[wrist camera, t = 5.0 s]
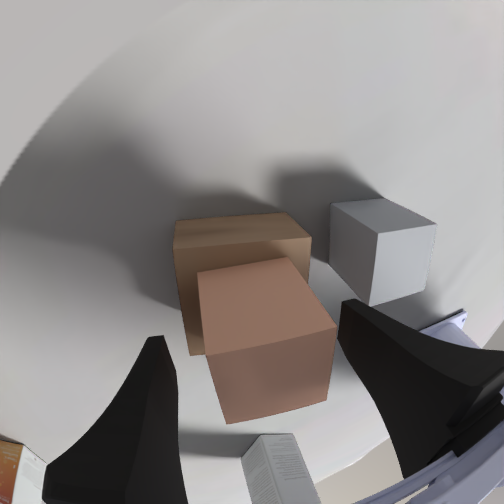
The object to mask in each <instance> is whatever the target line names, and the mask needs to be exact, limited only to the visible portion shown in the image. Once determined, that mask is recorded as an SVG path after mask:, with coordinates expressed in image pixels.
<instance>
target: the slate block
mask: <svg viewBox="0 0 504 504" xmlns="http://www.w3.org/2000/svg"><path fill="white" fill-rule="evenodd" d="M436 228H437V224H436V223H434V222H432V221H430V220H429V219H427V218H425V217H423V216H421V215H419V214H417V213H415V212H413V211H411V210H409V209H407V208H405V207H403V206H400V205H398V204H396V203H394V202H392V201H390V200H388V199H386V198H379V199H368V200H358V201H348V202H338V203H330V242H329V265H330V266H331V267H332V268H333V269H334V270H335V272H336V273H337V274H338V275H339V276H340V277H341V278H342V279H343V280H344V281H345V282H346V283H347V284H348V286H349V287H350V288H351V289H352V290H353V291H354V292H355V293H356V294H357V295H358V296H359V298H360V299H361V300H362V301H363V302H364V303H365V304H366V305H368V306H370V307H371V306H375V305H378V304H382V303H385V302H388V301H392V300H395V299H398V298H401V297H405V296H408V295H411V294H414V293H417V292H420V291H423V290H424V289H425V285H426V280H427V276H428V271H429V267H430V262H431V257H432V252H433V246H434V241H435V235H436Z"/></svg>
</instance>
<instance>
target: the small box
mask: <svg viewBox="0 0 504 504" xmlns="http://www.w3.org/2000/svg"><path fill="white" fill-rule="evenodd" d="M46 466H47V463H45V462H44V461H43V460H41V459H40V458H39V457H38V456H36V455H35V454H34V453H33V452H31V451H30V450H29V449H28V448H27V447H26V446H24V445H20V444H14V443H10V442H5V441H2V440H0V504H41V502H42V488H43V481H44V474H45V470H46Z"/></svg>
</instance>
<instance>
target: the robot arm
mask: <svg viewBox="0 0 504 504" xmlns="http://www.w3.org/2000/svg"><path fill="white" fill-rule="evenodd" d="M466 317H467V312H466V311H463V312H461V313H459V314H457V315H455V316H453V317H450V318H448V319H446V320H444V321H442V322H439V323H437V324H435V325H432V326H430V327H428V328H425V329H423V330H420V331H416V330H414V329H412V328H410V327H408V326H406V325H404V324H402V323H400V322H398V321H396V320H394V319H392V318H390V317H388V316H386V315H385V314H383V313H381V312H379V311H377V310H375V309H374V308H372V307H370V306H368V305H366V304H365V303H363V302H361V301H359V300H357V299H351V300H347V301H343V302H342V305H341V314H340V322H339V330H338V337H337V339H338V341H339V343H340V346H341V348H342V350H343V352H344V354H345V356H346V358H347V360H348V361H349V363H350V364H351V366H352V367H353V369H354V371H355V372H356V374H357V375H358V377H359V378H360V380H361V381H362V383H363V384H364V386H365V387H366V389H367V390H368V392H369V393H370V395H371V397H372V398H373V400H374V402H375V404H376V406H377V408H378V410H379V412H380V414H381V416H382V419H383V421H384V423H385V426H386V428H387V430H388V433H389V435H390V438H391V440H392V443H393V446H394V449H395V451H396V454H397V458H398V461H399V464H400V467H401V471H402V475H403V478H404V480H402V481H400V482H399V483H397V484H395V485H393V486H391V487H389V488H387V489H385V490H383V491H381V492H379V493H376V494H374V495H372V496H369V497H367V498H365V499H363V500H360V501H358V502H355V503H353V504H394V503H396V502H398V501H400V500H402V499H404V498H406V497H407V496H409V495H411V494H413V493H414V492H416V491H418V490H420V489H421V488H423V487H425V486H426V485H428V484H429V486H428V488H427V489H426V490H424V491H422V492H421V493H419V494H418V495H416V496H415V497H413V498H411V499H410V500H409V501H408V502H407V503H405V504H479V503H480V502H481V501H482V500H483V499H484V498H485V497H486V496H487V495H489V493H490V492H491V491H492V490H493V489H494V488H496V487H502V486H504V351H497V350H485V349H481V348H480V347H479V346H478V345H477V344H476V343H475V342H474V341H472V340H471V339H470V338H469V337H468V336H467V335H466V334H465V333H464V332H463V331H462V327H463V325H464V322H465V320H466ZM42 500H43V501H44V502H45V503H46V504H188V500H187V496H186V491H185V486H184V481H183V475H182V470H181V463H180V456H179V447H178V385H177V375H176V369H175V367H174V364H173V361H172V358H171V356H170V353H169V350H168V347H167V344H166V341H165V338H164V335H161V336H153V337H148V338H147V340H146V342H145V344H144V346H143V348H142V350H141V352H140V354H139V356H138V358H137V360H136V362H135V363H134V365H133V367H132V369H131V371H130V372H129V374H128V376H127V378H126V380H125V381H124V383H123V384H122V386H121V388H120V389H119V391H118V392H117V394H116V396H115V397H114V399H113V400H112V402H111V403H110V404H109V406H108V407H107V408H106V410H105V411H104V412H103V414H102V415H101V416H100V417H99V419H98V420H97V421H96V422H95V423H94V424H93V425H92V427H91V428H90V429H89V430H88V431H87V432H86V433H85V434H84V435H83V436H82V437H81V438H80V439H79V440H78V441H77V442H76V443H75V444H74V445H73V446H71V447H70V448H69V449H68V450H67V451H66V452H64V453H63V454H62V455H61V456H59V457H58V458H57V459H55V460H54V461H53V462H51V463H50V464H48V465H47V466H46V470H45V474H44V481H43V488H42Z"/></svg>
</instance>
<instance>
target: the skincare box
mask: <svg viewBox="0 0 504 504" xmlns="http://www.w3.org/2000/svg"><path fill="white" fill-rule="evenodd" d="M241 463H242V467H243V471H244V475H245V479H246V482H247V486H248V490H249V493H250V497H251V501H252V504H322V503H321V501H320V498H319V496H318V494H317V491H316V489H315V487H314V484H313V481H312V479H311V476H310V474H309V471H308V469H307V467H306V464H305V462H304V459H303V457H302V454H301V451H300V449H299V447H298V444H297V441H296V439H295V436H294V435H293V434H279V435H260V436H259V437H258V439H257V440H256V441H255V442H254V444H253V445H252V446H251V447H250V448H249V450H248V451H247V452H246V453H245V454H244V455H243V457H242V458H241Z"/></svg>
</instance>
